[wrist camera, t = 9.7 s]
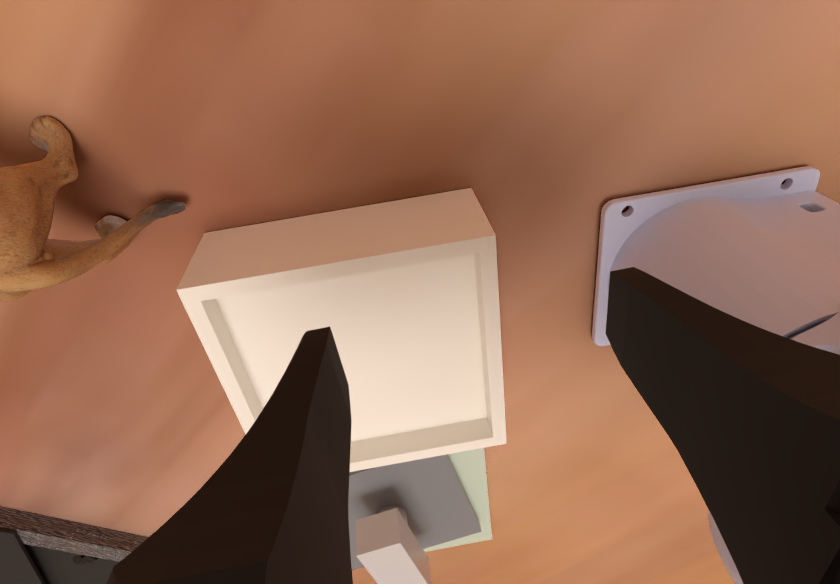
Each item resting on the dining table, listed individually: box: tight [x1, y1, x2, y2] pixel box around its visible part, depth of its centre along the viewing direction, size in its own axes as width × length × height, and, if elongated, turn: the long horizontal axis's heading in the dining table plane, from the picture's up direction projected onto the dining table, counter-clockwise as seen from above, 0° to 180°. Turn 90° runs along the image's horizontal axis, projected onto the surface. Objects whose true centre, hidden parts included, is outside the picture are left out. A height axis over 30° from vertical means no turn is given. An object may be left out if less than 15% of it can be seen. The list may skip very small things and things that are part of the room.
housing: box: [177, 188, 506, 472], centre depth 23 cm, size 11×11×4 cm
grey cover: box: [348, 454, 482, 584], centre depth 30 cm, size 9×9×4 cm
